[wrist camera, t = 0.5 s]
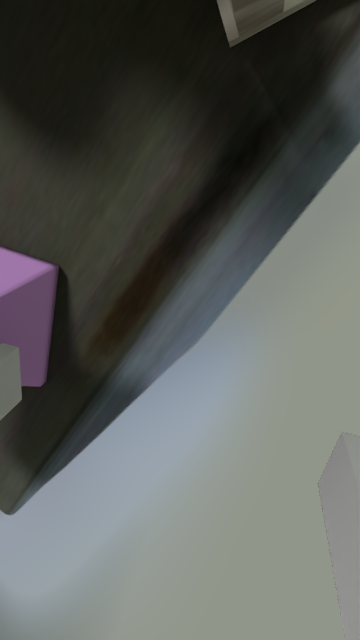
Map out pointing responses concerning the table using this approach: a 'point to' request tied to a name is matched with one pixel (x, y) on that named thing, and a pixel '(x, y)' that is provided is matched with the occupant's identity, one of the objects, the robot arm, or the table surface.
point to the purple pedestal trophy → (28, 311)
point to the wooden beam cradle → (254, 15)
